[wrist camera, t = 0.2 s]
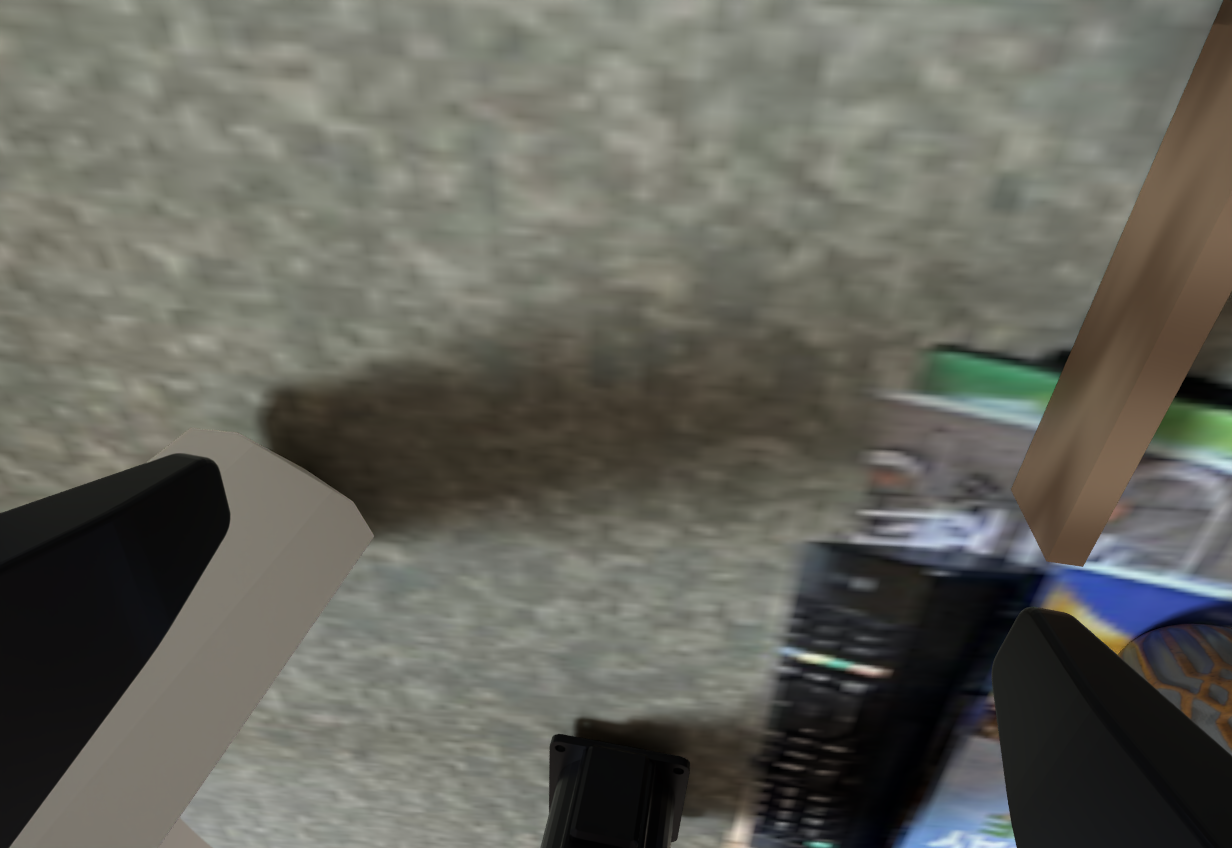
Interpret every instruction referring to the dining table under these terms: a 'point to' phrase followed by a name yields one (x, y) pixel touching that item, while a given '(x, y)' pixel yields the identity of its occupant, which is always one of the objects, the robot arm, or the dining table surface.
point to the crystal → (209, 651)
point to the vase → (1190, 672)
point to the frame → (1140, 320)
